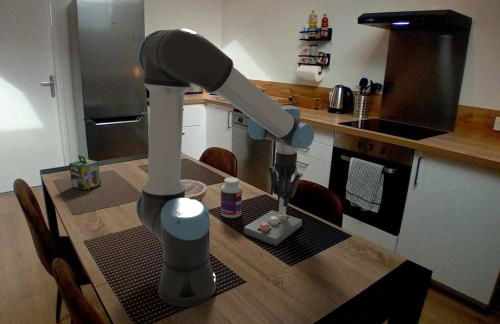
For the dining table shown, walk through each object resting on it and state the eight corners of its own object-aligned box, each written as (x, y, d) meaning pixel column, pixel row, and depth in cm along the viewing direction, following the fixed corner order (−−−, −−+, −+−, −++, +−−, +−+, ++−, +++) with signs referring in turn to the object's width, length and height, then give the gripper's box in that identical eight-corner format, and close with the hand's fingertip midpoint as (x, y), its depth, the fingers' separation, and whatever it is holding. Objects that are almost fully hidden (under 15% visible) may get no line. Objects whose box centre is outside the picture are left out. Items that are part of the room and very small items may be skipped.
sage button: (283, 224, 126) (284, 218, 126) (276, 222, 128) (276, 215, 127) (288, 221, 129) (288, 215, 128) (280, 219, 131) (281, 212, 130)
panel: (275, 245, 114) (276, 239, 113) (244, 233, 121) (244, 227, 120) (301, 225, 128) (301, 219, 127) (271, 216, 135) (271, 210, 134)
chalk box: (101, 185, 160) (98, 154, 156) (83, 191, 153) (80, 159, 148) (89, 181, 165) (86, 151, 160) (71, 187, 157) (67, 155, 153)
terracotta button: (265, 234, 117) (266, 227, 116) (258, 232, 119) (258, 224, 118) (270, 231, 119) (271, 223, 118) (263, 228, 121) (263, 221, 120)
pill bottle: (238, 220, 130) (239, 184, 126) (218, 217, 132) (218, 182, 128) (243, 211, 138) (244, 177, 134) (224, 209, 139) (224, 175, 135)
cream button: (275, 228, 121) (275, 221, 121) (267, 225, 123) (267, 218, 122) (279, 225, 124) (280, 217, 123) (272, 222, 126) (272, 215, 125)
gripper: (308, 153, 120) (302, 215, 127) (276, 146, 127) (272, 205, 134) (298, 157, 114) (292, 222, 121) (265, 150, 121) (261, 211, 128)
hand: (282, 213), depth 127 cm, fingers closed
